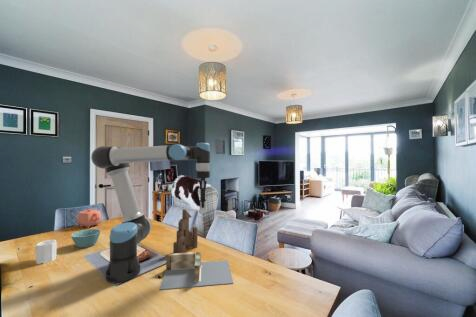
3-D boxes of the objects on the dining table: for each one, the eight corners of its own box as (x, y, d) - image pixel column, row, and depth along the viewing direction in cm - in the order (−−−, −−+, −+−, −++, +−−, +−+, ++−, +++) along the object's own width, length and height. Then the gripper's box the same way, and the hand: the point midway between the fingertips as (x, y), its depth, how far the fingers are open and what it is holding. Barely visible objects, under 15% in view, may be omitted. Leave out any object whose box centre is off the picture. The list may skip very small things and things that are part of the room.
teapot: (71, 226, 176) (72, 209, 176) (87, 222, 188) (87, 206, 188) (90, 229, 168) (90, 211, 169) (105, 225, 180) (105, 208, 181)
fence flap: (196, 267, 108) (196, 254, 108) (200, 267, 109) (200, 253, 109) (194, 281, 96) (194, 265, 96) (199, 280, 97) (199, 265, 97)
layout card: (159, 290, 91) (159, 289, 91) (168, 264, 112) (168, 264, 112) (233, 283, 96) (233, 282, 96) (227, 260, 117) (227, 260, 117)
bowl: (65, 247, 133) (65, 234, 134) (90, 239, 148) (90, 227, 148) (81, 252, 128) (81, 238, 128) (106, 242, 142) (106, 230, 142)
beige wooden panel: (165, 270, 106) (165, 255, 106) (166, 268, 109) (166, 253, 109) (200, 268, 109) (200, 253, 109) (200, 266, 111) (200, 251, 111)
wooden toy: (181, 256, 123) (181, 213, 123) (173, 253, 126) (173, 211, 126) (198, 246, 137) (198, 207, 137) (190, 244, 140) (190, 206, 140)
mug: (60, 257, 120) (60, 240, 120) (42, 265, 111) (42, 246, 112) (44, 255, 123) (44, 238, 123) (26, 262, 115) (26, 244, 115)
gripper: (210, 171, 112) (209, 215, 112) (209, 170, 125) (209, 210, 124) (195, 171, 111) (195, 216, 110) (196, 170, 124) (196, 210, 123)
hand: (202, 213), depth 117 cm, fingers closed
